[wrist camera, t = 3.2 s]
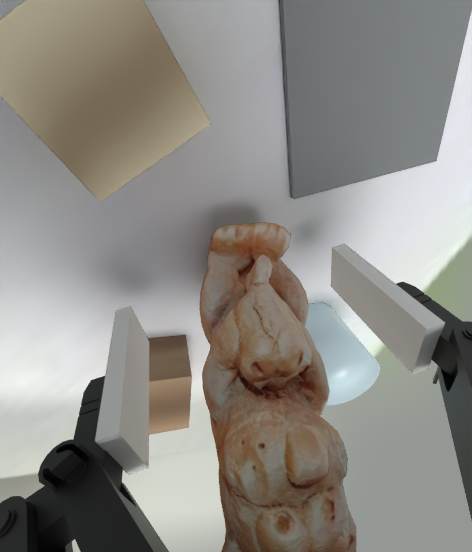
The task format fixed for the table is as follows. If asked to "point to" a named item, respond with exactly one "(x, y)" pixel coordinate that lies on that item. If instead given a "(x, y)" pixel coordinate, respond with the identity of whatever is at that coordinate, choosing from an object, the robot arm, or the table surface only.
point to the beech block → (97, 87)
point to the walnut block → (169, 384)
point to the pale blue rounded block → (340, 355)
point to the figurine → (269, 401)
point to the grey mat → (367, 85)
